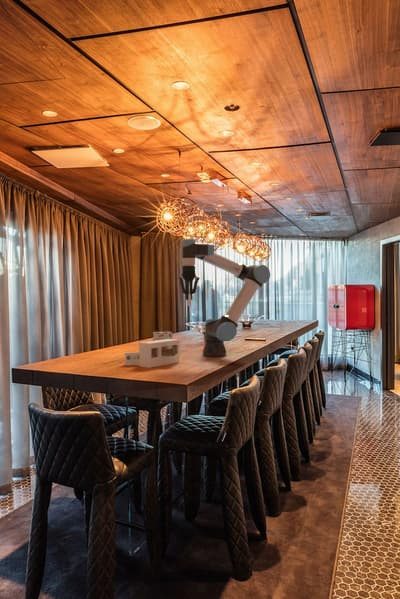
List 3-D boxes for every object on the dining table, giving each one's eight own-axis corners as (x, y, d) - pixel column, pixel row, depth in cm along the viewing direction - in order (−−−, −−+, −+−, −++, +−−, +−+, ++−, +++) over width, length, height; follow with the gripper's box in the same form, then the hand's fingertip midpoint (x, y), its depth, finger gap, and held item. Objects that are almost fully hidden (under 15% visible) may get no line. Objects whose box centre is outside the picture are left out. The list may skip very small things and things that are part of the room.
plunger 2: (165, 351, 271) (165, 344, 271) (176, 353, 265) (176, 345, 265) (160, 352, 268) (159, 345, 267) (171, 354, 262) (171, 346, 262)
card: (143, 364, 259) (143, 352, 259) (143, 364, 257) (143, 352, 257) (125, 365, 257) (124, 352, 257) (125, 365, 256) (124, 352, 256)
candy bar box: (172, 358, 280) (172, 331, 280) (170, 360, 275) (170, 332, 275) (155, 358, 283) (155, 331, 282) (152, 359, 278) (152, 332, 278)
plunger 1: (145, 354, 259) (145, 347, 258) (157, 356, 253) (156, 348, 253) (139, 355, 255) (139, 347, 255) (151, 357, 249) (151, 349, 249)
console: (169, 360, 272) (169, 338, 271) (179, 362, 267) (179, 339, 266) (139, 366, 253) (139, 342, 253) (149, 367, 248) (149, 343, 248)
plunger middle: (163, 354, 261) (163, 346, 261) (174, 355, 255) (174, 347, 255) (157, 355, 258) (157, 347, 258) (169, 356, 252) (169, 348, 252)
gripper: (180, 265, 266) (180, 306, 267) (201, 265, 271) (201, 305, 272) (176, 265, 273) (176, 305, 274) (196, 266, 278) (197, 305, 279)
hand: (188, 305), depth 273 cm, fingers closed
